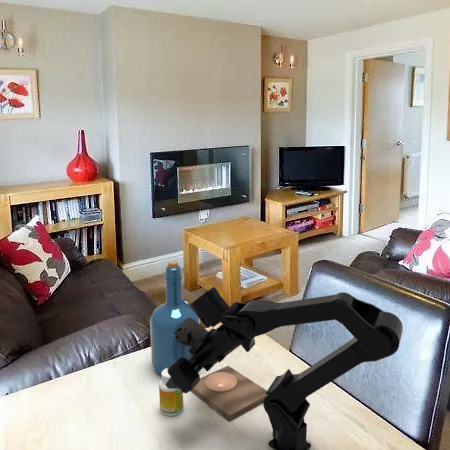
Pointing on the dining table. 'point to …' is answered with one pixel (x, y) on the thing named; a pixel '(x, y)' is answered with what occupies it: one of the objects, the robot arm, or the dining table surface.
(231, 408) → the walnut board
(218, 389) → the coaster
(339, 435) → the dining table surface
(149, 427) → the dining table surface
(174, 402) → the supplement bottle
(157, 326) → the wine bottle
